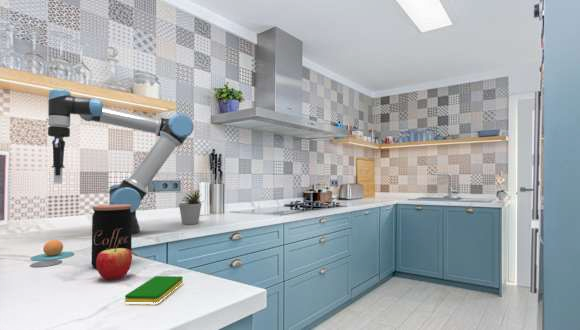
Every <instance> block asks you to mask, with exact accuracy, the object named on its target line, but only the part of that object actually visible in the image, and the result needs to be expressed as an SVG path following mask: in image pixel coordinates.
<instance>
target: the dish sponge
mask: <svg viewBox="0 0 580 330" xmlns="http://www.w3.org/2000/svg"><path fill="white" fill-rule="evenodd" d="M183 278H184V277H183V276H177V275H176V276H175V275H174V276H172V275H171V276H167V275H166V276H165V275H164V276H163V275H156V276H153V277H152V278H150V279H149V280H147V281H145V282H144V283H142V284H141V285H139V286H137V287H136V288H135V289H133V290H132V291H130V292H129V293H127V294H125V296H124V303H125V302H153V303H154V302H155V303H156V302H159V301H160V300H161V299H163V298H164V297H165V296H167V295H168V294H169V293H170V292H172V291H173V290H174V289H175V288H176V287H178V286H179V285H180V284H181V283H183V281H184V280H183ZM183 284H184V283H183Z"/></svg>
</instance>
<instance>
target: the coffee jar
mask: <svg viewBox="0 0 580 330" xmlns="http://www.w3.org/2000/svg"><path fill="white" fill-rule="evenodd" d="M131 208H132V205H128V204H115V205H109V204H99V205H94V206H92V210H93V212H94V213H92V216H91V224H92V225H91V266H92V267H93V268H94V269H96V270H97V266H96V260H97V256H98V254H99V253H100V252H102V251H105V250H109V249H116V246H117V244H118V243H119V242H120V240H121V239H122V241H121V242H120V243H119V244H118V246H117V248H126V249H129V250H130V251H131V252H132V240H133V239H132V236H133V235H132V234H133V233H132V212H131V211H130V209H131Z"/></svg>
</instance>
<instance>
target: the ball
mask: <svg viewBox="0 0 580 330" xmlns="http://www.w3.org/2000/svg"><path fill="white" fill-rule="evenodd" d="M42 249H43V254H46V255H48V256H56V255H58V254H60V253H61V252H63V249H64V245H63V242H62V241H60V240H58V239H50V240H48V241H46V243H45V244H44V245H43V248H42Z"/></svg>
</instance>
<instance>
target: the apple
mask: <svg viewBox="0 0 580 330" xmlns="http://www.w3.org/2000/svg"><path fill="white" fill-rule="evenodd" d="M121 241H122V239H121V240H120V242H121ZM120 242H119V243H120ZM119 243H118V244H119ZM118 244H117V246H118ZM117 246H116V249H109V250H105V251H102V252H100V253H99V254H98V256H97V260H96V266H97V269H96V270H97V272H98V274H99V276H100V277H101V278H103V279H105V280H107V281H108V280H110V281H114V279H115V280H119V279H121V278H123V277H124V276H126V274H128V272H129V270H130V268H131V266H132V261H133V254H132V250H131V251H130V250H129V249H126V248H117Z"/></svg>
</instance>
